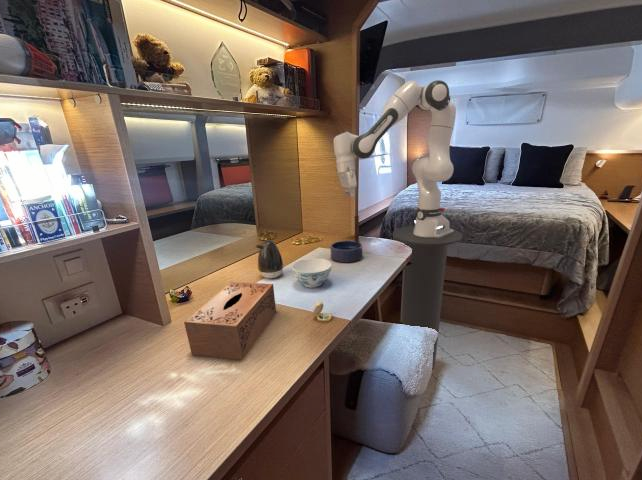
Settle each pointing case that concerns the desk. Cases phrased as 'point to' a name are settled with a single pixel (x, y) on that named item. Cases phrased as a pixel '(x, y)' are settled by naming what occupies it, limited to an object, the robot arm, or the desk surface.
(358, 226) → the stirring stick
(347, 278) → the desk surface
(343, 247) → the bowl
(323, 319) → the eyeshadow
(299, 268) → the chinaware
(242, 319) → the tissue box cover
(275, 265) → the pump dispenser
